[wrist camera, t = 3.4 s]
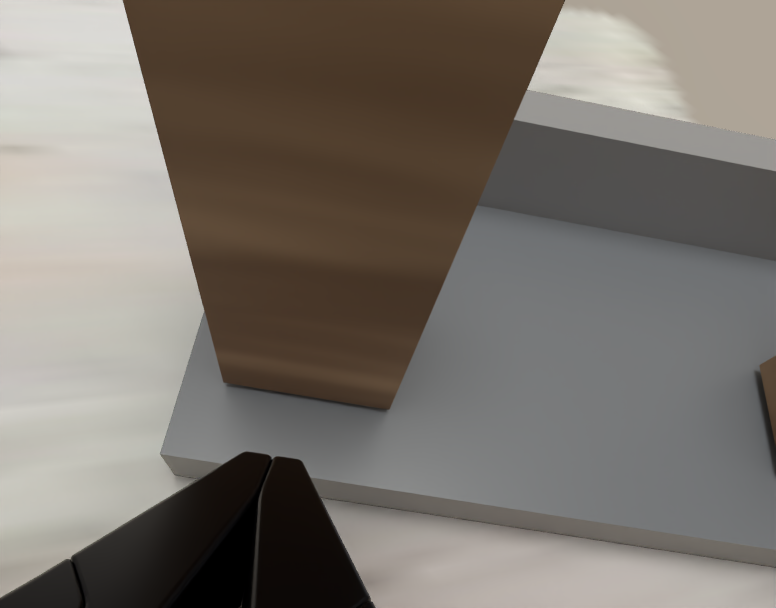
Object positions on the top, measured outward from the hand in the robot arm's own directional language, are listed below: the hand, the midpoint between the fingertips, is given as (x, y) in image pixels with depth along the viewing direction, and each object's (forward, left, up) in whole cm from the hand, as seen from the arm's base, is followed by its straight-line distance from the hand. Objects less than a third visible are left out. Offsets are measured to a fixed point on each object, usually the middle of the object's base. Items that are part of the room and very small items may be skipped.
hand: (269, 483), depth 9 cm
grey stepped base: (+7, -7, -7) cm, 12 cm away
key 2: (+5, 0, -5) cm, 7 cm away
